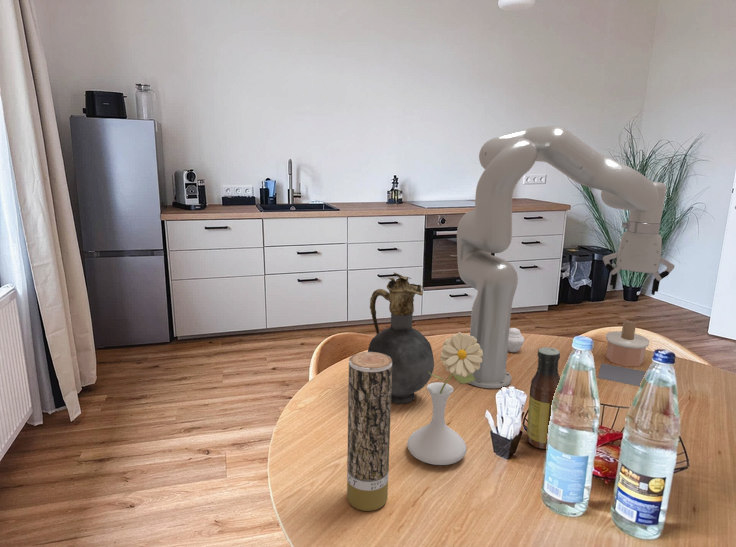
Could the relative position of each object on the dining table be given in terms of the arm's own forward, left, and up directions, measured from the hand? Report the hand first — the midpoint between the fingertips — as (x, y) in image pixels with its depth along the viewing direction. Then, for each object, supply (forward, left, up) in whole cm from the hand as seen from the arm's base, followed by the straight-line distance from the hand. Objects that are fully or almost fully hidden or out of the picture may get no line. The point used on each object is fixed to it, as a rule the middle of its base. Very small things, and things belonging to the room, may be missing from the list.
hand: (633, 291), depth 144 cm
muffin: (-29, +7, -21) cm, 37 cm away
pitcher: (-65, -23, -21) cm, 72 cm away
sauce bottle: (-36, -43, -21) cm, 60 cm away
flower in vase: (-57, -48, -21) cm, 78 cm away
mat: (-5, -10, -21) cm, 23 cm away
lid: (0, 0, -15) cm, 15 cm away
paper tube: (-71, -62, -21) cm, 97 cm away
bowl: (0, 0, -21) cm, 21 cm away
